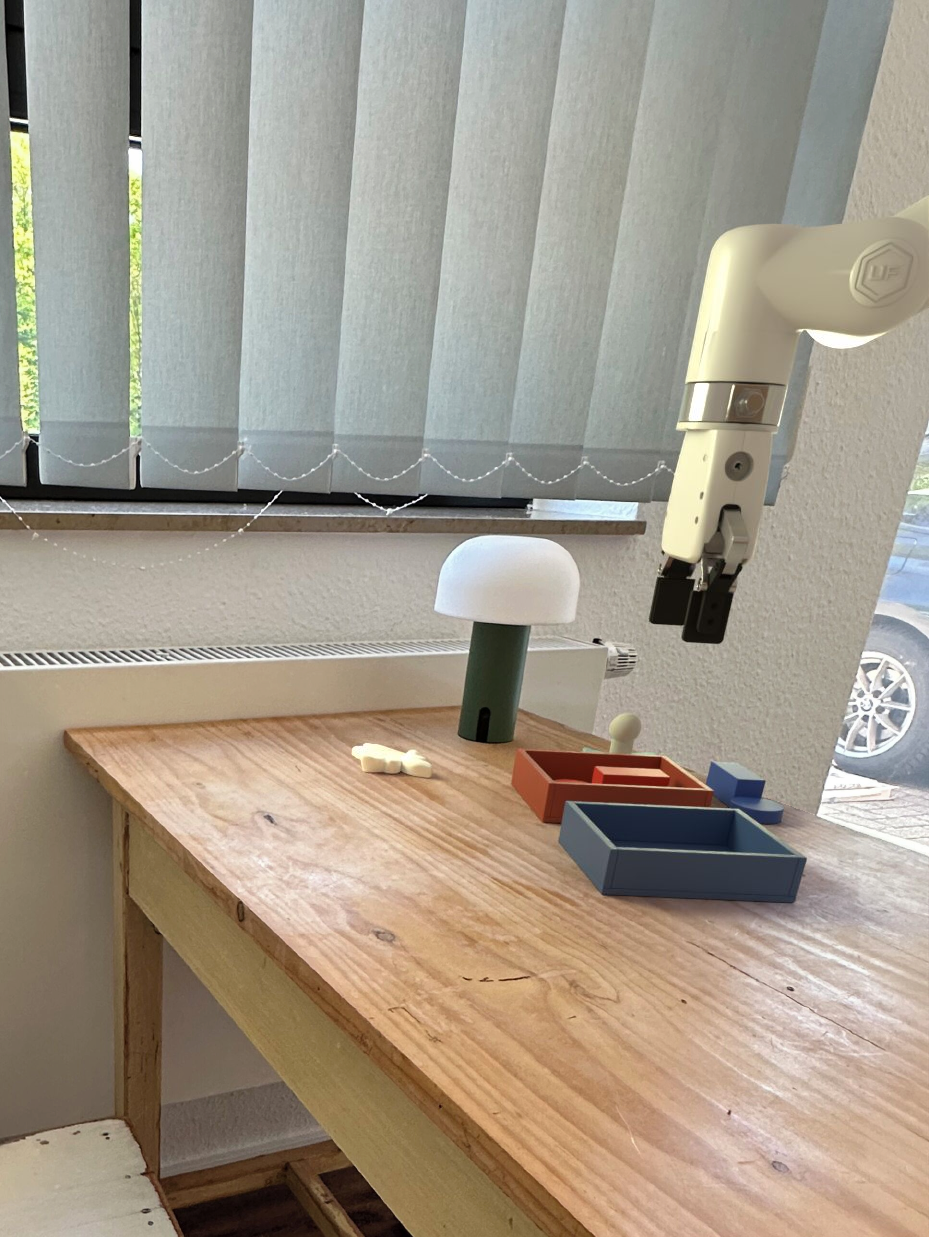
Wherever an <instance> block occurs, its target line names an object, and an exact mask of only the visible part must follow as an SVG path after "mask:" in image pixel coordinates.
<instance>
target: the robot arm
mask: <svg viewBox="0 0 929 1237" xmlns="http://www.w3.org/2000/svg"><path fill="white" fill-rule="evenodd" d="M706 267H707V268H706V273H705V278H704V281H703V282H704V283H703V288H702V293H701V299H700V304H699V310H698V314H697V320H696V325H695V330H694V336H693V340H692V345H691V349H690V350H691V351H690V355H689V359H688V365H687V370H686V374H685V375H686V376H685V381H684V386H683V391H682V395H681V401H680V407H679V411H678V416H677V423H676V428H675V430H676V431H685V435H684V437H683V441H682V445H681V449H680V453H679V455H678V461H677V464H676V468H675V473H674V477H673V481H672V483H671V484H672V485H671V489H670V494H669V498H668V502H667V506H666V508H667V509H666V511H665V516H664V517H665V518H664V521H663V522H664V523H663V528H662V536H661V555H662V558H661V560H660V562H659V564H658V568H657V576H656V580H655V584H654V590H653V596H652V600H651V605H650V610H649V614H648V622H649V623H650V624H652V625H661V626H679V627H682V631H681V640H682V641H683V642H685V643H692V644H693V643H694V644H710V645H721V644H722V643H723V641H724V640H725V634H726V630H727V626H728V622H729V617H730V613H731V608H732V604H733V600H734V595H735V593H736V591H737V588H738V577H739V575H740V573H741V572H742V571H743V568H744V567H745V566H746V565H748V564H749V563H750V562H751V561H752V560H753V558H754V555H755V552H756V546H757V541H758V536H759V532H760V525H761V522H762V515H763V510H764V504H765V498H766V494H767V487H768V481H769V474H770V466H771V458H772V447H773V435H774V434H775V435H777V434H778V432H779V426H780V423H781V419H782V415H783V409H784V405H785V401H786V398H787V392H788V386H789V384H790V379H791V375H792V370H793V366H794V361H795V358H796V353H797V348H798V344H799V339H800V336H801V334H802V333H803V331H806V332H807V333H808V334H809V335H810V336H811V338H812V339H814V340H815V341H816V342H818V343H819V344H821V345H823V346H826V347H829V348H833V349H849V348H856V347H859V346H862V345H864V344H867V343H869V342H872V341H873V340H874V339H876V338H877V339H878V338H880V337H881V336H883V335H885V334H888V333H890V332H892V331H894V330H896V329H898V328H899V327H900V326H902V325H903V324H905V323H906V322H907V321H909V320H910V319H911V318H913V317H915V316H917V315H918V314H921V313H922V312H924V311H926V310H927V309H929V194H928V195H926V196H925V197H922V198H921V199H920V200H917V201H916V202H915V203H912V204H911V205H909V206H908V207H906V208H905V209H903V210H901V211H900V212H897V213H896V214H895V215H892V216H884V217H883V216H882V217H874V218H873V217H872V218H868V219H867V218H866V219H862V220H855V221H849V222H843V223H838V224H837V223H835V224H827V225H820V226H819V225H818V226H809V227H805V226H801V225H796V224H786V223H760V224H749V225H743V226H738V227H734V228H732V229H730V230H727V231H725V232H724V233H723V234H721V235H720V236H719V237H718V239H717V240H716V241H715V243H714V245H713V246H712V248H711V250H710V255H709V258H708V263H707V266H706ZM709 568H710V571H709ZM694 572H695V578H692V577H693V574H694ZM695 585H696V590H695Z"/></svg>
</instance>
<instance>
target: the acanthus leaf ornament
mask: <svg viewBox="0 0 929 1237" xmlns="http://www.w3.org/2000/svg"><path fill="white" fill-rule="evenodd" d="M420 754H421V753H419V751H418V750H416V749H410V750H408V751H407V752H403V751H399V750H397V749H395V748H394V749H393V748H391V747H388V746H385V745H381V744H377V743H369V742H366V743H363V745H356V746H353V747H352V748H351V756H352V757H355V759H356V760H359V761H360V764H361V769H362V771H363V772H365V773H385V774H398V773H400V772H402V773H404V774H407V775H409V776H413V777H419V778H427V779H430V778H431V776H432V774H433V770H434V767H433V765H432V764H431V763H430V762H428V761H427V758H426V757H424V756H422V755H420Z"/></svg>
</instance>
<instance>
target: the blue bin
mask: <svg viewBox="0 0 929 1237" xmlns="http://www.w3.org/2000/svg"><path fill="white" fill-rule="evenodd" d="M559 830H560V831H559V835H558V840H557V843H559V845H560V846H561V847H562V848H563V849H564V850H565V852H566V853H567V854H568V855H569V857H570V858H571V859H572V860H573V861H574V863H575V864H576V865H577V866H578V867H579V869H580V870H581V872H583V874H584V875H585V876H586V877H587V879H588V880H589V881H590V883H591V884H592V885H593V886H594V888H596V889H597V891H598V892H599V894H600V895H606V896H607V895H608V896H631V897H652V898H673V899H675V898H676V899H697V900H723V901H742V902H743V901H745V902H766V903H787V904H788V903H791V904H793V903H796V900H797V895H798V892H799V888H800V885H801V882H802V877H803V874H804V872H805V867H806V864H807V860H808V858H807V857H806V856H805V855H803V853H800V851H798V850H797V849H795V848H794V847H792V846H791V845H790V844H788V843H787V842H785V841H784V840H783V839H781V838H780V837H779V836H777V835H776V834H774V833H773V832H772V831H770V830H769V829H768V828H766V827H765V826H764V825H762V824H761V823H758V822H756V821H755V820H754V819H752V818H751V817H749V816H748V815H747V814H745V813H744V812H743V811H741V810H740V809H730V808H728V807H727V808H726V807H710V808H708V807H687V806H665V805H644V804H622V803H600V802H579V801H566V802H565V807H564V812H563V818H562V823H560V829H559Z"/></svg>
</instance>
